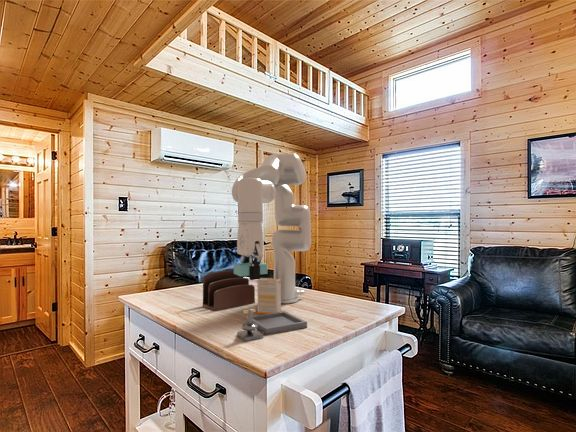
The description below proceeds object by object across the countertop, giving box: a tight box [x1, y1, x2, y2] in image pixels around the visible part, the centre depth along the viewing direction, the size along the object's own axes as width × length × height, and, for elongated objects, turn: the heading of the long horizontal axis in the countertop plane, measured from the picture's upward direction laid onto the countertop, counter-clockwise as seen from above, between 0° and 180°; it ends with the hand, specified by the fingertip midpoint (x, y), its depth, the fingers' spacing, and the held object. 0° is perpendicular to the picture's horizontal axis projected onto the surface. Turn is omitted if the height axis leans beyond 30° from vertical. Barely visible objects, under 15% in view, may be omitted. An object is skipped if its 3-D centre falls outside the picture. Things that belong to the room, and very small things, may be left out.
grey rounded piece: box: [236, 308, 264, 342], centre depth 100 cm, size 6×6×8 cm
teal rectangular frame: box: [233, 261, 269, 277], centre depth 101 cm, size 10×6×3 cm, turn 120°
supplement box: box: [256, 277, 282, 315], centre depth 127 cm, size 8×5×13 cm, turn 71°
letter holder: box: [202, 269, 256, 312], centre depth 140 cm, size 10×20×14 cm, turn 132°
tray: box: [253, 311, 308, 336], centre depth 112 cm, size 15×15×2 cm
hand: (250, 277), depth 101 cm, fingers closed on teal rectangular frame, 5 cm apart
